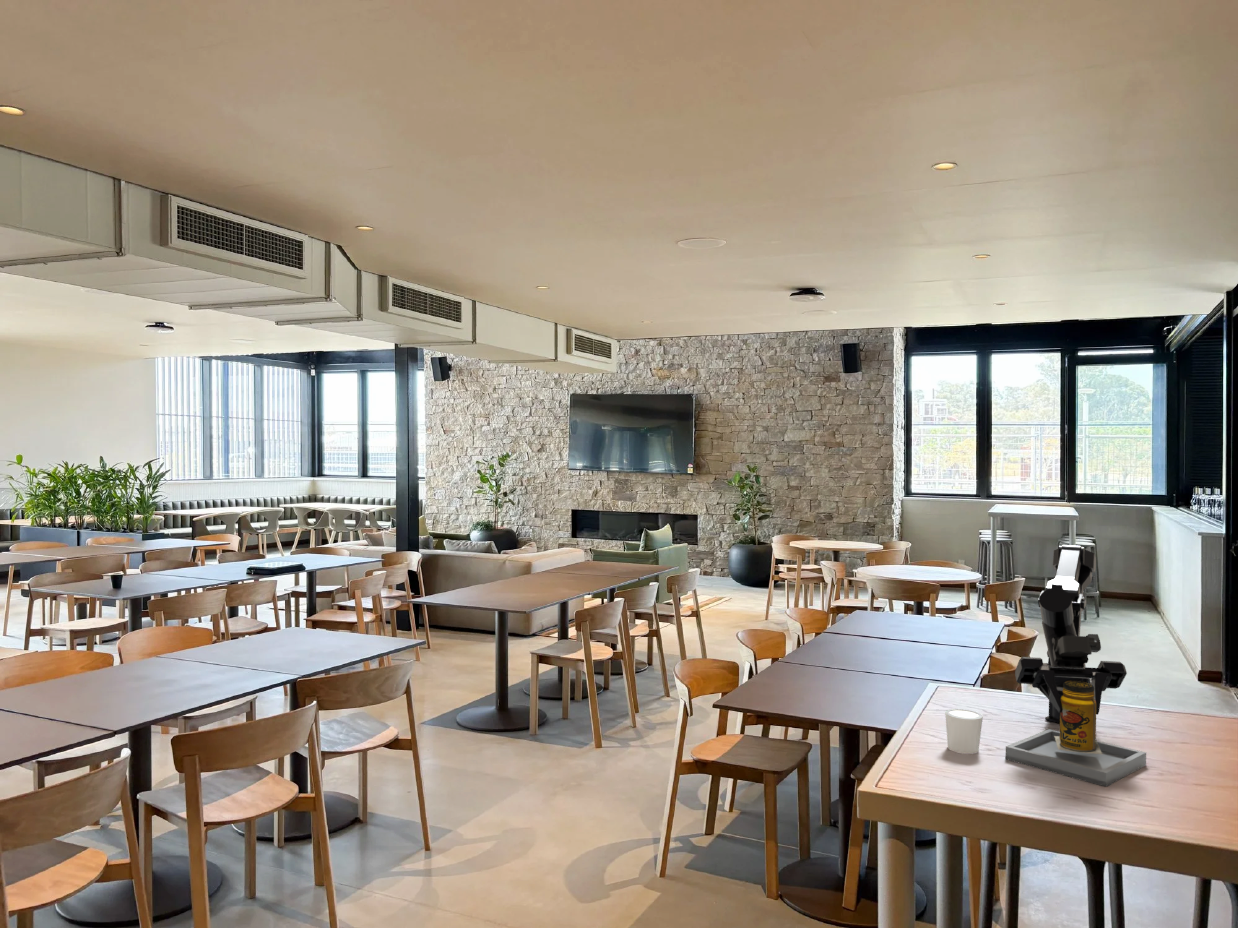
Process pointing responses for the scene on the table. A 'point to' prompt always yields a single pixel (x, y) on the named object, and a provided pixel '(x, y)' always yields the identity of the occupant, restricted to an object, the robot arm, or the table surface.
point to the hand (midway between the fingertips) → (1079, 712)
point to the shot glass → (963, 730)
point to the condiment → (1078, 719)
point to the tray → (1076, 759)
